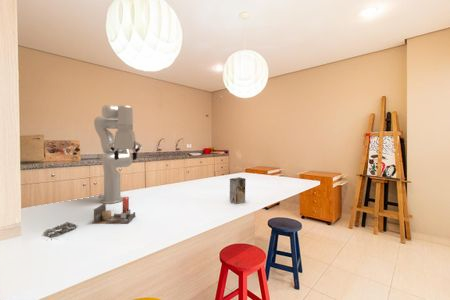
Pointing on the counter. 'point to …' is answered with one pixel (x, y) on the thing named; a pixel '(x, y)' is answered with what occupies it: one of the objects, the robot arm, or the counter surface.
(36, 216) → the counter surface
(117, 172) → the robot arm
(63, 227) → the egg carton
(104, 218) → the tan wooden knob
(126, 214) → the handle
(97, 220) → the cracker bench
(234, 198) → the coffee box
